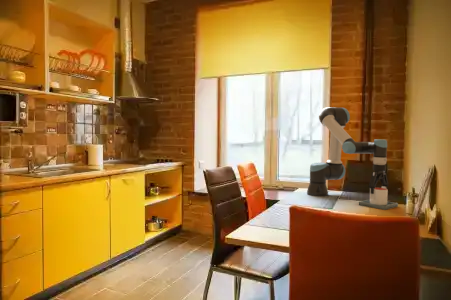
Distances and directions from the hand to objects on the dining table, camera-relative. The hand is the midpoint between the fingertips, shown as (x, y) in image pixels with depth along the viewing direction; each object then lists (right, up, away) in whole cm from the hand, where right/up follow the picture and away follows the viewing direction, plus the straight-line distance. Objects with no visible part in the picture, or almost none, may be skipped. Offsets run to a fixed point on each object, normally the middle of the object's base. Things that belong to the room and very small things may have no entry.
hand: (378, 197), depth 206 cm
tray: (0, -5, 0) cm, 5 cm away
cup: (0, -4, 0) cm, 4 cm away
